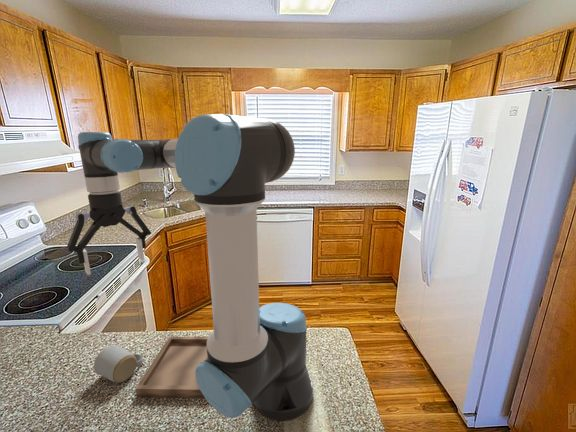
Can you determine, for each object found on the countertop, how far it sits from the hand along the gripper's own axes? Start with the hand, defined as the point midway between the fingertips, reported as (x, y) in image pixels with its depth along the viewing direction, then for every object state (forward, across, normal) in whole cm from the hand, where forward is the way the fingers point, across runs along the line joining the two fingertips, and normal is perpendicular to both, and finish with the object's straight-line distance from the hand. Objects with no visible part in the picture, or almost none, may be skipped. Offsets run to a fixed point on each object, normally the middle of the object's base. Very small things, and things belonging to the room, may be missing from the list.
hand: (116, 265), depth 84 cm
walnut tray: (+27, -9, +21) cm, 36 cm away
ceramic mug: (+27, +5, +9) cm, 29 cm away
